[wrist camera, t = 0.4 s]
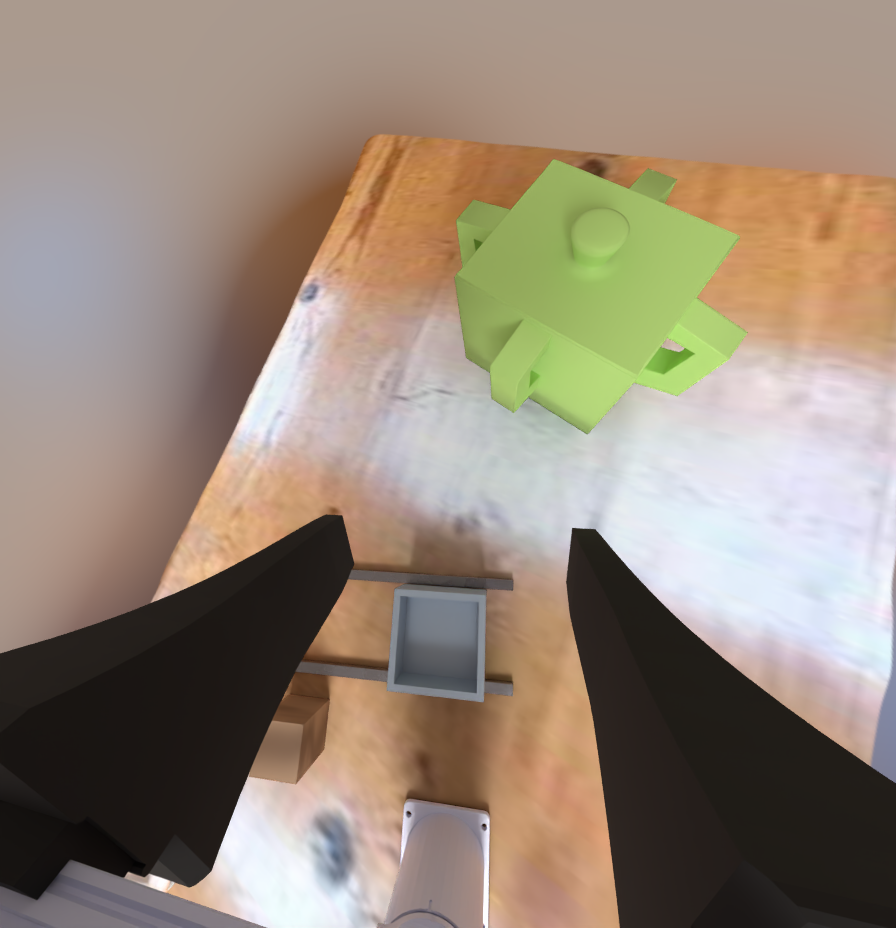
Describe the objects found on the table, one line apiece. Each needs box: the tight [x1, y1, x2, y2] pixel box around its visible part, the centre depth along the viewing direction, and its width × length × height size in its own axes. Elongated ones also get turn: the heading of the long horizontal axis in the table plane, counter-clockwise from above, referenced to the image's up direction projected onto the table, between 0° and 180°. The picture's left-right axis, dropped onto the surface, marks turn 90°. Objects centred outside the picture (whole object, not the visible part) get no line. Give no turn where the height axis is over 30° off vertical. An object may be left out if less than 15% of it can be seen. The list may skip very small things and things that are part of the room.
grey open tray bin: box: [387, 584, 487, 702], centre depth 32 cm, size 9×9×5 cm
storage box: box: [455, 159, 748, 434], centre depth 31 cm, size 25×23×17 cm
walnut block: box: [249, 694, 330, 784], centre depth 32 cm, size 4×4×5 cm
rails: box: [295, 569, 513, 696], centre depth 34 cm, size 11×25×3 cm, turn 87°
